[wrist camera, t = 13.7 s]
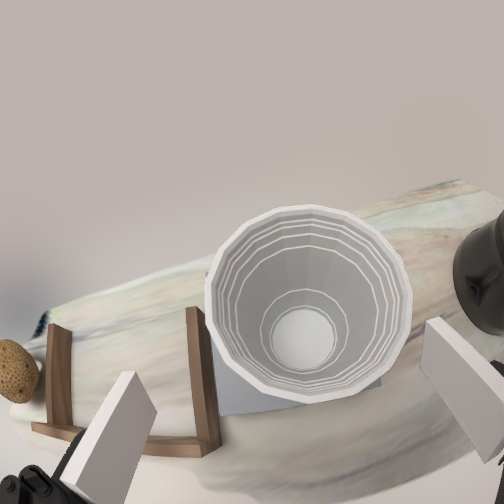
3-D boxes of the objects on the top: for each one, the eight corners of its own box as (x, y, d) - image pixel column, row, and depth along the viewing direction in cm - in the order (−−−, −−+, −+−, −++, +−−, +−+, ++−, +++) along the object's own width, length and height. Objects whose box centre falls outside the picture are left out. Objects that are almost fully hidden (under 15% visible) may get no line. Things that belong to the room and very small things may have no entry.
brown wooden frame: (207, 317, 32) (186, 295, 26) (222, 445, 24) (201, 457, 18) (66, 332, 33) (33, 316, 27) (67, 432, 26) (31, 430, 20)
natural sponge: (57, 406, 28) (4, 396, 19) (25, 407, 28) (-22, 397, 19) (51, 347, 32) (3, 327, 24) (20, 355, 32) (-23, 337, 24)
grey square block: (336, 271, 32) (343, 246, 27) (365, 388, 25) (381, 385, 20) (220, 294, 33) (205, 272, 28) (234, 413, 26) (219, 416, 21)
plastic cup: (383, 370, 21) (451, 342, 10) (264, 416, 21) (237, 434, 10) (337, 265, 26) (359, 178, 16) (229, 303, 26) (185, 233, 16)
